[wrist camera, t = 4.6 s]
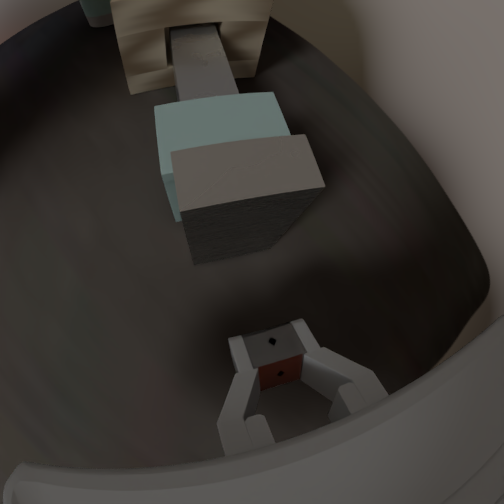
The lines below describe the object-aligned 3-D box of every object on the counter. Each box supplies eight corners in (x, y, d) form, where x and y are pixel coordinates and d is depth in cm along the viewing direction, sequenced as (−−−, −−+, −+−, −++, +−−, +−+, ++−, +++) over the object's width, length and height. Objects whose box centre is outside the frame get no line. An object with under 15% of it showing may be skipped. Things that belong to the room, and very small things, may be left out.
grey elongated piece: (194, 265, 15) (179, 211, 7) (162, 57, 19) (157, -21, 11) (269, 248, 16) (325, 186, 8) (212, 50, 20) (220, -27, 12)
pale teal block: (175, 221, 15) (161, 174, 10) (167, 166, 16) (154, 106, 10) (270, 203, 16) (297, 153, 11) (254, 151, 17) (273, 91, 11)
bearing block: (130, 94, 18) (110, 2, 9) (133, 39, 19) (123, -33, 11) (254, 77, 20) (276, -13, 11) (232, 26, 21) (244, -44, 13)
